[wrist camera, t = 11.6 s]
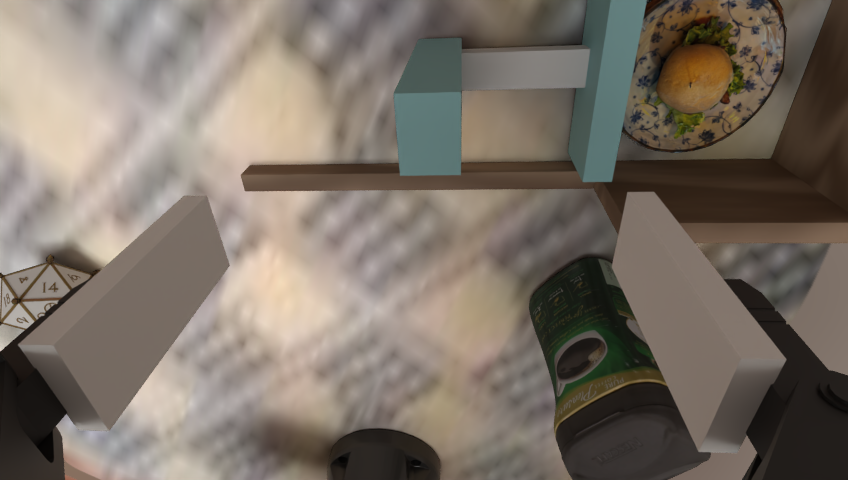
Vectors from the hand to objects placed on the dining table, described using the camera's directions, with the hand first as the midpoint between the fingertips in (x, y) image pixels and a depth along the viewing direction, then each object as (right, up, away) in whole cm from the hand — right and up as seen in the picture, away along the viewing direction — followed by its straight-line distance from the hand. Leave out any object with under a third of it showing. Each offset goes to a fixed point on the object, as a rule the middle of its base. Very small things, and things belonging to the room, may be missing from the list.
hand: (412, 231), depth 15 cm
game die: (-36, -4, +34) cm, 50 cm away
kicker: (+7, +13, +19) cm, 24 cm away
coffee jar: (+16, -5, +31) cm, 35 cm away
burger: (+20, +12, +19) cm, 30 cm away
